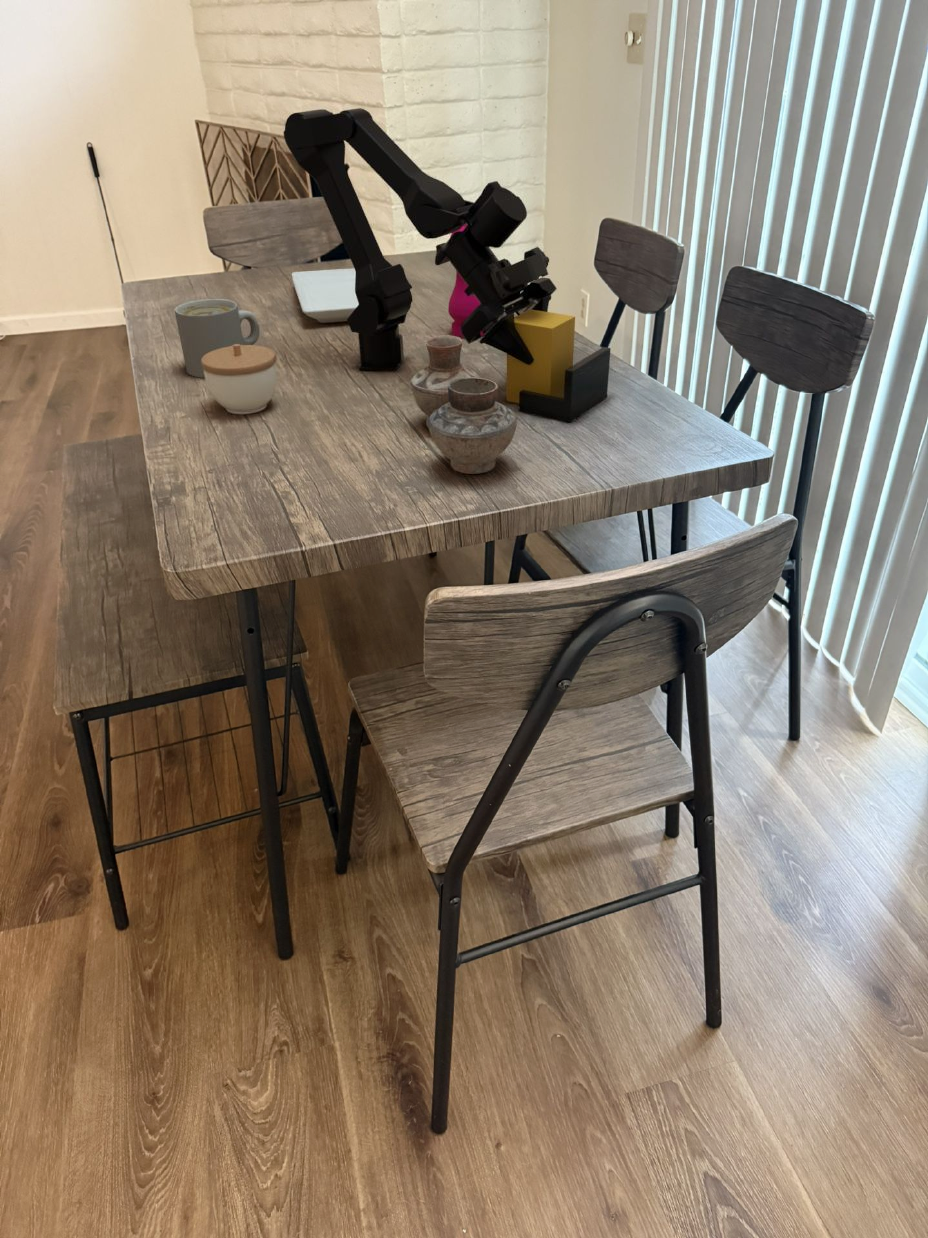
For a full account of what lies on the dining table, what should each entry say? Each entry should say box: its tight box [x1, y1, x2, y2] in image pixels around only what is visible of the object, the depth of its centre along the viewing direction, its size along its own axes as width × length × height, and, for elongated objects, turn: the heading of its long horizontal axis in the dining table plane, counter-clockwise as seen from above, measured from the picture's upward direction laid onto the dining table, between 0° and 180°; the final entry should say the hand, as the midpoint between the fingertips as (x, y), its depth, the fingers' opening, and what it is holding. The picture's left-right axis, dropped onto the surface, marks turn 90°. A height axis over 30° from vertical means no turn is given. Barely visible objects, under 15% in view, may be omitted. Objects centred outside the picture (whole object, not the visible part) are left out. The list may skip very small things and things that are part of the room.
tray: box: [291, 267, 359, 324], centre depth 179 cm, size 17×31×4 cm, turn 13°
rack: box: [518, 346, 611, 423], centre depth 131 cm, size 8×12×8 cm
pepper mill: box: [447, 224, 485, 339], centre depth 157 cm, size 7×7×20 cm
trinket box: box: [201, 344, 278, 415], centre depth 132 cm, size 11×11×9 cm
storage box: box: [505, 309, 576, 405], centre depth 132 cm, size 8×7×12 cm
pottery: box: [409, 334, 518, 475], centre depth 118 cm, size 11×25×12 cm, turn 15°
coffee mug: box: [174, 298, 260, 379], centre depth 148 cm, size 13×10×10 cm
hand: (543, 356), depth 131 cm, fingers closed on storage box, 7 cm apart
